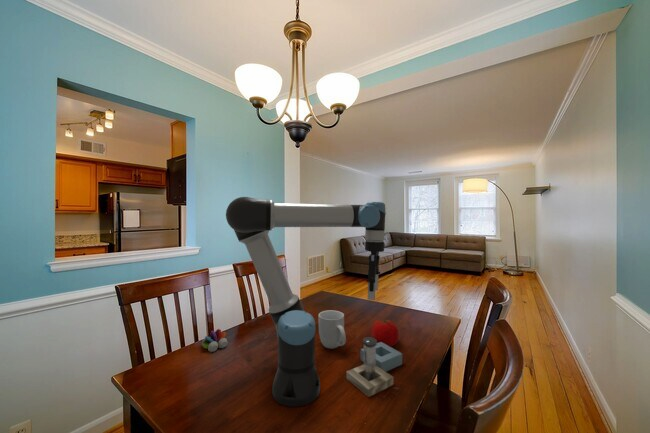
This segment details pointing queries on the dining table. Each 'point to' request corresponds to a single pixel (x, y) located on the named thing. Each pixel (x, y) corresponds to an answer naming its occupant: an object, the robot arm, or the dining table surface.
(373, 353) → the pin
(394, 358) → the socket
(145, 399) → the dining table surface
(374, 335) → the tomato
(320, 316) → the mug
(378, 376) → the beige square frame
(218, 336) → the multicoloured knobbly toy
